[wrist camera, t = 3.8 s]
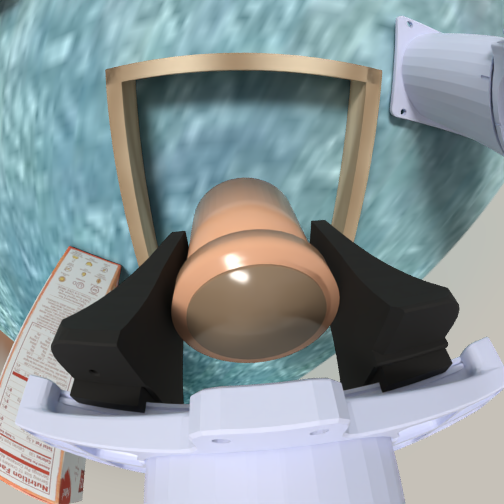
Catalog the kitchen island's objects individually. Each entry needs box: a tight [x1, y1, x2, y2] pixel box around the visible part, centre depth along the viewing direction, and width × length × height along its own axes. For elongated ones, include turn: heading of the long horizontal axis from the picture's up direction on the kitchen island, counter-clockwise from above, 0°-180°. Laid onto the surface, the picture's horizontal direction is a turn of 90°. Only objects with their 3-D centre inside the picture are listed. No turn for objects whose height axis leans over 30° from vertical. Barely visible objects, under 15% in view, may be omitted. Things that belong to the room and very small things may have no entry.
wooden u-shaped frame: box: [105, 53, 382, 267], centre depth 18 cm, size 16×16×2 cm
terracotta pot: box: [171, 178, 340, 363], centre depth 11 cm, size 6×6×6 cm
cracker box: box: [0, 246, 121, 504], centre depth 17 cm, size 14×6×21 cm, turn 154°
